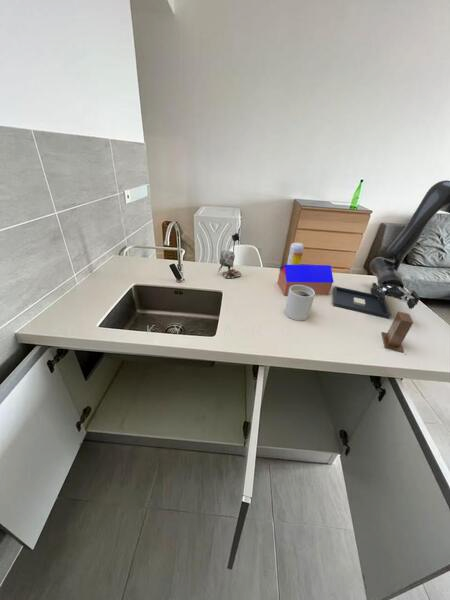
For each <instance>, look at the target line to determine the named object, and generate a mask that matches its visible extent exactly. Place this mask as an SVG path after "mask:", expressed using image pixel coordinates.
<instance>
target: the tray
mask: <svg viewBox="0 0 450 600" xmlns="http://www.w3.org/2000/svg"><path fill="white" fill-rule="evenodd" d="M354 297H355V298H360V299H364V300H365V306H361V305H357V304H354V300H353V299H354ZM332 301H333V302H332V307H334V308H335V307H336V308H340V309H344V310H349V311H352V312H356V313H361V314H365V315H370V316H374V317H378V318H383V319H387V320H390V318H391V313H390V310H389V307H388V303H387V301H386V298H385V299H384V301H383V303H382V302H380V300H378V297H377V296H376V295H374V296H373V295H371V292H366V291H365V292H364V291H360V290H355V289H352V288H351V289H350V288H346V287H340V286H334V288H333V300H332Z"/></svg>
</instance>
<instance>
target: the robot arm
mask: <svg viewBox="0 0 450 600" xmlns="http://www.w3.org/2000/svg"><path fill="white" fill-rule="evenodd" d="M440 211H441V212H444V213H448V214H450V180H446V179H445V180H441V181H440V180H439V181H438V182H436V183H435V184H433V185H432V186H430V188H428V190H427V192H426V193H425V194H424V197H422V199H421V202H420V203H419V204H418V206H417V208H416V210H415V211H414V213H413V215H412V216H411V218H410V219H409V221H408V222H407V224H406V225H405V227H403V229H402V231H401V232H400V233H399V234H398V235H397V237H396V238H395V240H394V241H393V242H392V243H391V244H390V246H388V248H387V250H386V252H387V254H389V255H390V256H391V257H392V258H393V260H389V259H387V258H385V257H383V256H378V257H374V258H373V259H372V261H370V264H369V271H370V272H371V273H372V274H373V276H375V277H376V280H377V283H376V282H372V283H371V287H370V294H371V295H373V296H374V295H376V296H377V297H378V300H380V302H382V303H383V301H384V299H385V300H386V297H390V298H395V299H397V300H399V301H400V302H405V303H406V305H407V307H408V309H410V310H412V309H414V308H415V307H416V306H417V305H418V303H419V301H420V299H421V297H420V296H419V294H418V293H417V291H415V290H411V291H407V290H406V289H405V285H404V282H403V281H402V278H401V277H400V275H399V274H398V271H399V268H400V267H401V264H402V263H403V261H404V259H405V257H406V256H407V255H408V254H409V253H410V252H411V250H412V249H413V248H414V247H415V246H416V245H417V243H418V242H419V240H420V238H421V237H422V235H423V232H424V230H425V228H426V227H427V225H428V223H429V222H430V221H431V219H432V218H434V216H435V215H436V214H437V213H438V212H440Z"/></svg>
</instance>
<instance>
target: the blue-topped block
mask: <svg viewBox="0 0 450 600" xmlns="http://www.w3.org/2000/svg"><path fill="white" fill-rule="evenodd" d="M334 281H335V280H334V276H333V270H332V265H331V264H330V265H329V264H300V265H287V264H284V265H282V266H281V267H280V268H279V273H278V279H277V285H278V287H279V289H280V291H281V292H282V294H283V296H287V297H288V293H289V288H290V287H291V286H293V285H303V286H307V287H309V288H311V289H313V290H314V292H315V295H316V296H317V295H318V296H326V295H327V296H329V294H330V292H331V288H332V285H333V283H334ZM315 295H314V296H315Z"/></svg>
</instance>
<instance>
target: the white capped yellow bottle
mask: <svg viewBox="0 0 450 600" xmlns="http://www.w3.org/2000/svg"><path fill="white" fill-rule="evenodd" d="M304 248H305V246H304V244H303V243H302V242H292V243H291V244H290V247H289V254H288V257H287V261H286V262H287V263H286V265H301V262H302V256H303V254H304Z"/></svg>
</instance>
